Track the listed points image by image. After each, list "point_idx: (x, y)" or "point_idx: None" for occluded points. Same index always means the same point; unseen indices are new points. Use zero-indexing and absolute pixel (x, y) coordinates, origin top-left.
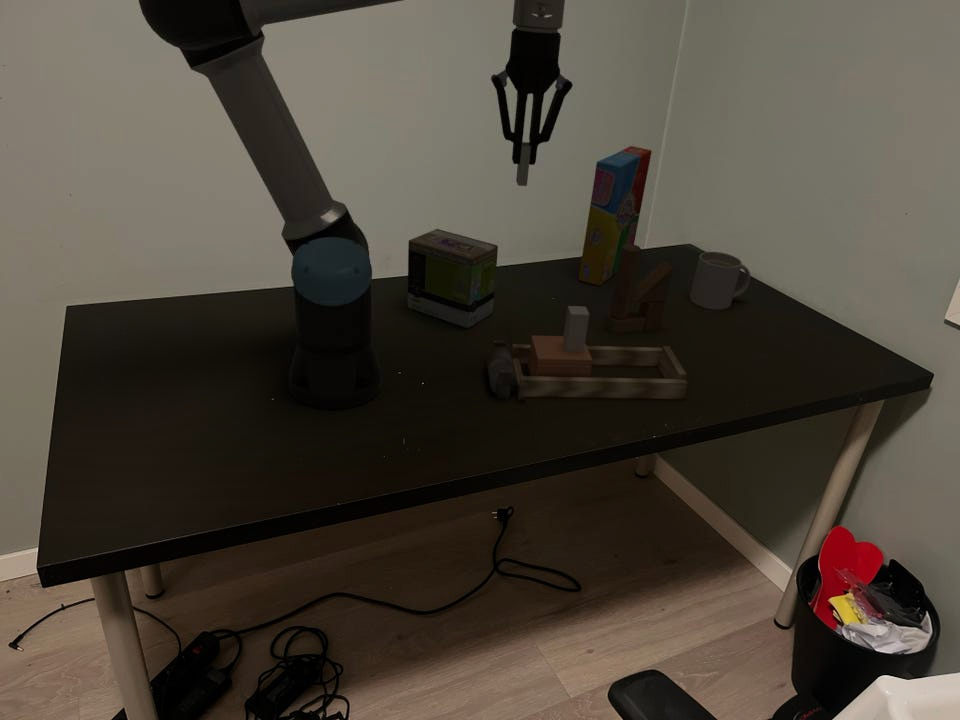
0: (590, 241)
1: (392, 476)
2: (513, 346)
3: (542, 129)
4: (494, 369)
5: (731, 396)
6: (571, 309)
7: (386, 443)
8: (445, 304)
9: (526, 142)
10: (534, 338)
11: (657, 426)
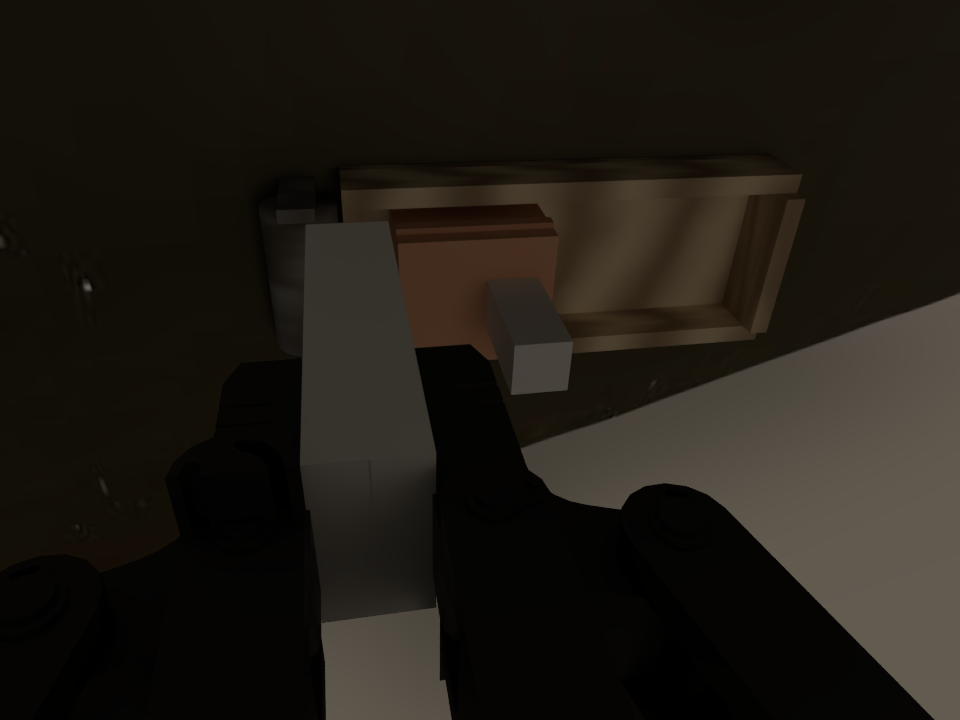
0: None
1: (110, 564)
2: (343, 204)
3: (674, 631)
4: (284, 326)
5: (852, 274)
6: (520, 366)
7: (68, 496)
8: None
9: (400, 467)
10: (405, 261)
11: (634, 390)
